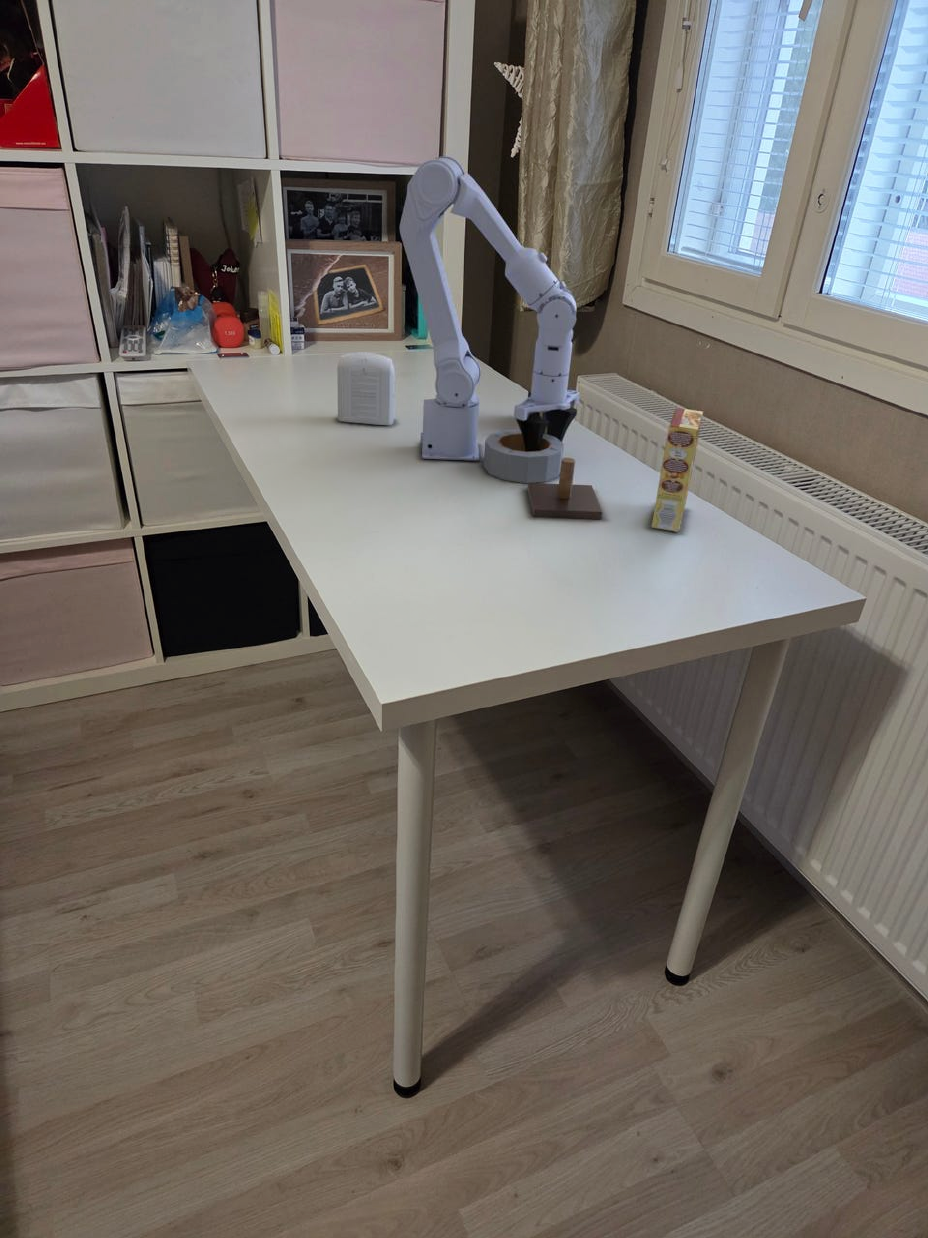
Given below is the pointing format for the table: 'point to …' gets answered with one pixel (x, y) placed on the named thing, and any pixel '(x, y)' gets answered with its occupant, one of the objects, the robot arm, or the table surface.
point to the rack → (564, 497)
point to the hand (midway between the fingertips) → (542, 453)
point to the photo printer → (366, 388)
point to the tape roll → (522, 457)
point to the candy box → (677, 469)
